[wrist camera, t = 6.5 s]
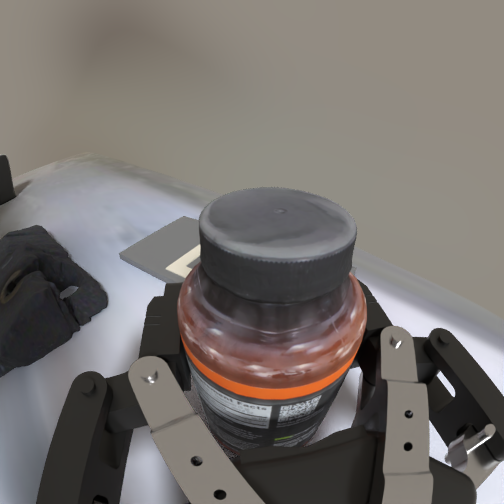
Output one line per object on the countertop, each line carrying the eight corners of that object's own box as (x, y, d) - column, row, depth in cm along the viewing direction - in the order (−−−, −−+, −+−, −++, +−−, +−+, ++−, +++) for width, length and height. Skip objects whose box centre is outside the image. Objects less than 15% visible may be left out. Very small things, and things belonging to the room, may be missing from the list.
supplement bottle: (261, 354, 16) (271, 167, 10) (339, 408, 13) (422, 217, 7) (183, 409, 13) (122, 210, 7) (263, 485, 9) (310, 346, 3)
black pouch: (58, 232, 31) (49, 200, 29) (122, 317, 19) (104, 267, 17) (-27, 277, 21) (-40, 246, 19) (-21, 404, 9) (-59, 363, 7)
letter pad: (120, 258, 25) (118, 252, 25) (184, 220, 32) (183, 215, 32) (319, 350, 17) (321, 343, 16) (355, 273, 24) (356, 266, 23)
